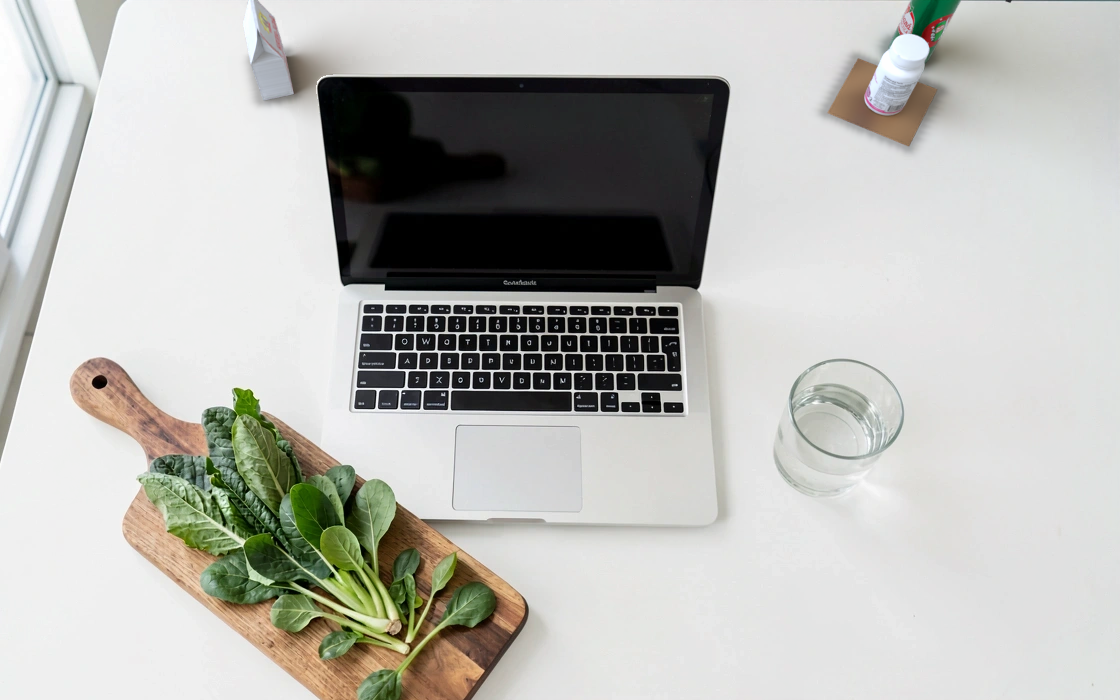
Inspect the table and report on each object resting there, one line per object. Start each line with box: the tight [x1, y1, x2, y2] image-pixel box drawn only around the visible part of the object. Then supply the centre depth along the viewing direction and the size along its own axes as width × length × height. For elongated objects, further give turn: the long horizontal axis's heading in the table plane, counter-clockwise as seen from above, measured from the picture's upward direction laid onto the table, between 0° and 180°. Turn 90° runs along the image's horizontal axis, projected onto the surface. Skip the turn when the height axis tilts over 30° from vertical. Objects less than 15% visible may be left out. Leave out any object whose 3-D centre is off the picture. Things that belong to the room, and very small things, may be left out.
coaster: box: [826, 58, 938, 147], centre depth 107 cm, size 10×10×1 cm
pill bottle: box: [864, 34, 929, 116], centre depth 103 cm, size 5×5×8 cm
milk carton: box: [242, 0, 295, 101], centre depth 105 cm, size 4×7×10 cm, turn 15°
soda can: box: [887, 0, 962, 65], centre depth 105 cm, size 5×5×12 cm
